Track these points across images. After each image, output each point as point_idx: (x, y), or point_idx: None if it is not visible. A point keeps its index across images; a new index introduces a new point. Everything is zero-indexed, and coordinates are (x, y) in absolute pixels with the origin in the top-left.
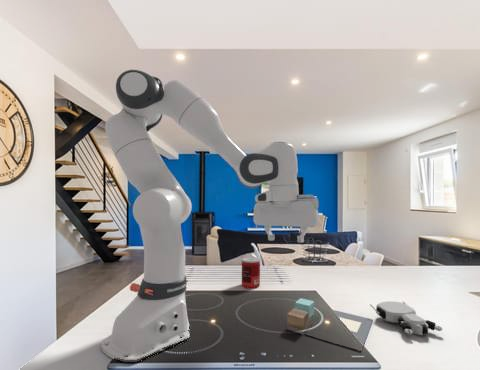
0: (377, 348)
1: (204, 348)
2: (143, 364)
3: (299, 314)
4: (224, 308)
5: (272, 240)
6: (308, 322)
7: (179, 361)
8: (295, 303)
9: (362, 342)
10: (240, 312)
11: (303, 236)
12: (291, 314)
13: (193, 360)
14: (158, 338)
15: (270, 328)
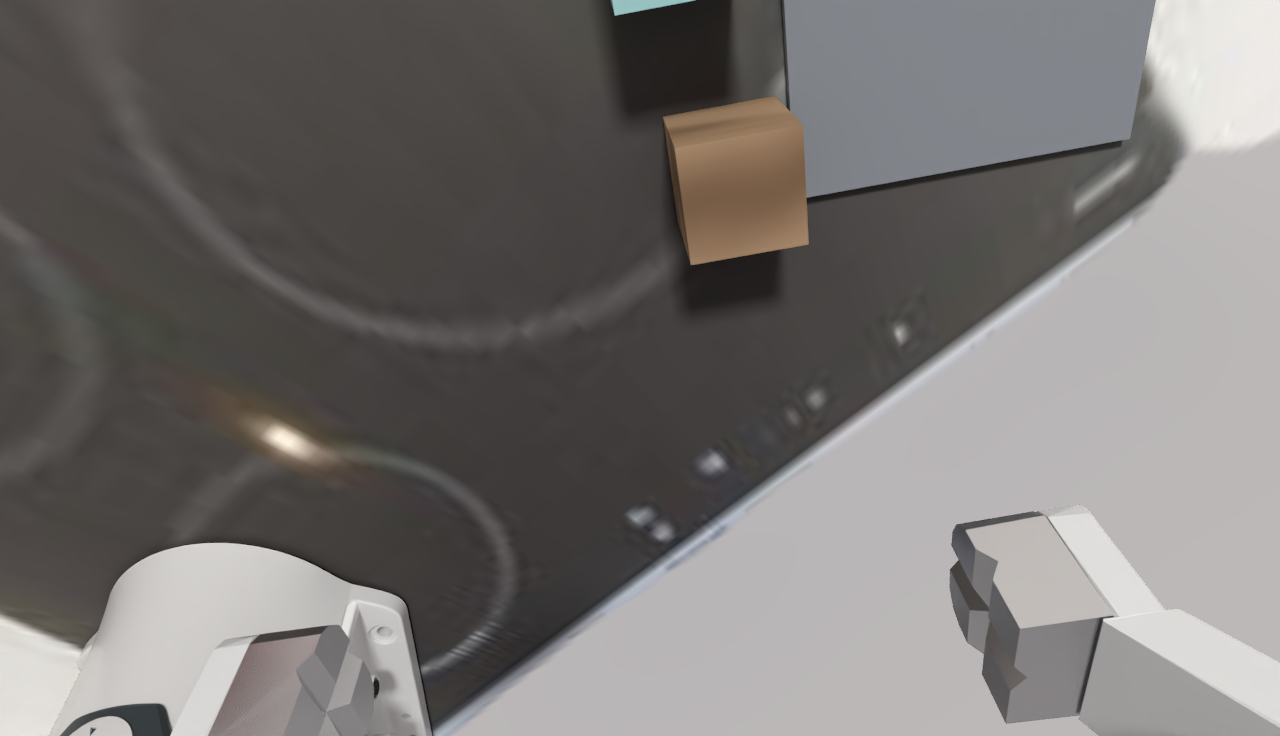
0: (1218, 16)
1: (504, 586)
2: (452, 728)
3: (764, 211)
4: (140, 287)
5: (359, 673)
6: (784, 107)
7: (515, 666)
8: (616, 14)
9: (1138, 36)
10: (273, 251)
11: (1149, 616)
12: (718, 250)
13: (544, 639)
14: (375, 712)
15: (588, 278)
